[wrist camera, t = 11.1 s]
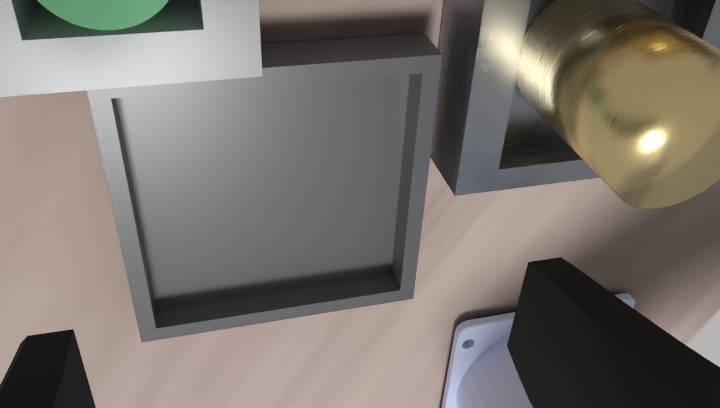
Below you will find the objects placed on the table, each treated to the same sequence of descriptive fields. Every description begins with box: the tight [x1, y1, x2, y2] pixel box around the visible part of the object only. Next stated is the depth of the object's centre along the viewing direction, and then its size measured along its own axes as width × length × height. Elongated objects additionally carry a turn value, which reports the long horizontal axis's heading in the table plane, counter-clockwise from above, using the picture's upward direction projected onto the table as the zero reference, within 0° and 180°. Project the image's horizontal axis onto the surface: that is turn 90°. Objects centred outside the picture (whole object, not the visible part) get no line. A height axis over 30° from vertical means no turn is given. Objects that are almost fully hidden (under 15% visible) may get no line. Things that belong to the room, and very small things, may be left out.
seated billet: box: [516, 0, 720, 209], centre depth 18 cm, size 4×4×5 cm
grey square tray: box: [87, 33, 442, 342], centre depth 20 cm, size 9×9×2 cm
